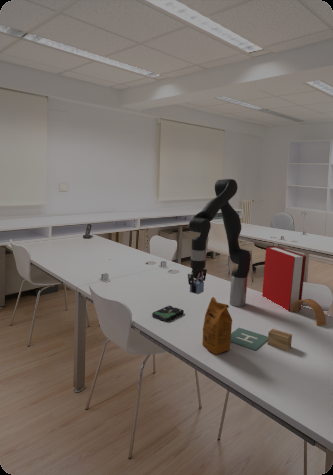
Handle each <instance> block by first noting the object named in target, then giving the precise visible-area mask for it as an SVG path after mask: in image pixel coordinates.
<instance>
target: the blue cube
mask: <svg viewBox="0 0 333 475" xmlns="http://www.w3.org/2000/svg"><path fill="white" fill-rule="evenodd" d="M194 283H195V281H194ZM191 287H192V286H191V285H189V293H192V292H191ZM204 287H205V281H203V282H201V281H197V283H196V293H194V294H195V295H199V294H202V293H204V290H205V288H204Z"/></svg>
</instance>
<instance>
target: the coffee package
mask: <svg viewBox="0 0 333 475" xmlns="http://www.w3.org/2000/svg"><path fill="white" fill-rule="evenodd" d="M229 308H230V306H229V304H227V303H226V304H225V303H221V302H218V301H217V300H216V298H215V297H214V296H213V297H211V298H210V301H209V304H208V307H207V309H206V312H205V315H204V321H203V326H202V343H201V344H202V346H204V347H205V348H206V349H207V351H208V352H210V353H212V354H214V355H218V354H221V353H223V352H228V351H229V350H230V349H231V342H230V340H231V333H232V327H233V326H232V325H233V319H232V316H231V314H230V312H229V310H228V309H229Z"/></svg>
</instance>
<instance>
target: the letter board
mask: <svg viewBox="0 0 333 475" xmlns="http://www.w3.org/2000/svg"><path fill="white" fill-rule="evenodd" d="M266 342H268V336H267V335H264V334H261V333H257V332H256V331H255V332H254V331H251V330H248V329H245V328H242V327H238V328H236V329H235V330H233V331H231V340H230V343H232V344H235V345H238V346H240V347H243V348H247V349H249V350H252V351H255V352H256V351H257V350H259V349H260V348H261V347H262V346H263V345H264V344H265V343H266Z"/></svg>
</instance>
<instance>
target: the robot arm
mask: <svg viewBox="0 0 333 475" xmlns="http://www.w3.org/2000/svg"><path fill="white" fill-rule="evenodd" d="M237 192H238V183H237V181H236V179H234V178H233V179H231V178H225V179H218V180H216V181H215V183H214V193H215V196H216V197H214V198H213V199H211V200H210V201H208V202H207V203H206V204H205V206H204V207H203V208H202V209H201V211H199V212H197V213H196V214H195V215H194V216H192V217H191V219H190V220H189V222H188V228H189V230H190V231H191V232H193V233H199V236H195V237H192V239H191V251H190V261H189V265H190V266H189V267H190V268H191V272H190V273H187V280H188V285H189V286H190V285H191V286H192V287H191V292H192V293H193V294H195V293H196V283H197V281H201V282H205V281H206V278H207V272H208V269H206V262H207V241H208V238H209V234H210V230H211V221H213V220H214V218H215V217H216V215H217V214H218V212H219V211H220V212H221V216H222V220H223V226H224V232H225V234H226V239H227V246H228V254H229V260H230V261H231V262H232V263H233V264H235V265H237V268H236V269H233V270H232V271H231V278H230V290H229V291H230V292H229V304H230V305H231V306H233V307H239V308H240V307H245V306H246V302H247V291H248V290H247V289H248V276H249V273H250V267H251V261H252V260H251V258H252V257H251V252H250V251H249V250H248V249H244V248H241V247H240V244H239V237H240V234H241V232H242V223H241V218H240V215H239V214H238V212H237V211H236V210H235V209H234V207H233V206H232V205H231V203H230V202H229V201H230V200H231V199H233V197H234V196H235V195H236V194H237ZM194 281H195V283H194ZM191 292H190V293H191Z"/></svg>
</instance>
